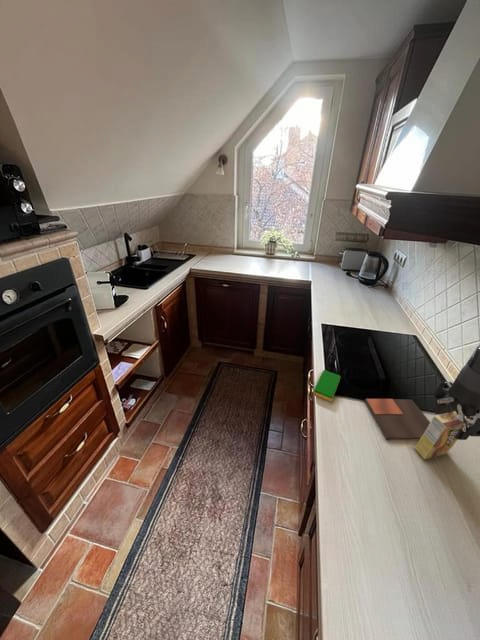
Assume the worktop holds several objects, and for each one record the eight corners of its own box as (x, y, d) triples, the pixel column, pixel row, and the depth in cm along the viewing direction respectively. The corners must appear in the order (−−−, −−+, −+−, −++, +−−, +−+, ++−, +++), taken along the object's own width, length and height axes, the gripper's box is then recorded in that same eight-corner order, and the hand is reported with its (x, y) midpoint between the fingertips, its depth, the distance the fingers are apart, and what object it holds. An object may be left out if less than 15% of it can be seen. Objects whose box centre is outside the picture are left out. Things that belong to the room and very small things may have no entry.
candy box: (436, 442, 81) (457, 409, 73) (448, 454, 78) (472, 421, 70) (413, 448, 79) (433, 414, 71) (425, 461, 76) (447, 427, 68)
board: (410, 401, 96) (412, 398, 95) (440, 439, 82) (442, 437, 81) (364, 400, 95) (364, 398, 95) (386, 439, 81) (387, 437, 81)
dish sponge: (339, 380, 105) (341, 375, 103) (331, 402, 94) (332, 397, 93) (322, 373, 108) (323, 369, 107) (312, 394, 97) (313, 390, 96)
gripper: (517, 405, 58) (481, 448, 66) (467, 364, 70) (442, 405, 78) (485, 405, 58) (453, 448, 66) (441, 364, 70) (419, 405, 78)
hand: (447, 425), depth 72 cm, fingers open, 8 cm apart
